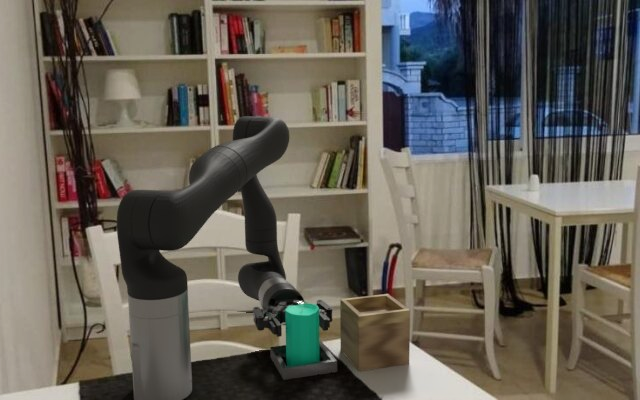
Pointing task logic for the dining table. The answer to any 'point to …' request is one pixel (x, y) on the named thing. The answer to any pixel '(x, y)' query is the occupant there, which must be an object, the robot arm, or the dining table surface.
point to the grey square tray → (303, 369)
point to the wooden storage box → (375, 331)
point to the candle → (302, 334)
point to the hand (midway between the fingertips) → (303, 328)
